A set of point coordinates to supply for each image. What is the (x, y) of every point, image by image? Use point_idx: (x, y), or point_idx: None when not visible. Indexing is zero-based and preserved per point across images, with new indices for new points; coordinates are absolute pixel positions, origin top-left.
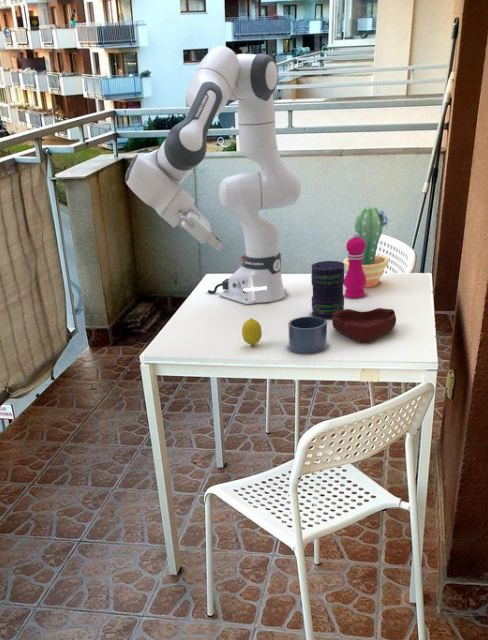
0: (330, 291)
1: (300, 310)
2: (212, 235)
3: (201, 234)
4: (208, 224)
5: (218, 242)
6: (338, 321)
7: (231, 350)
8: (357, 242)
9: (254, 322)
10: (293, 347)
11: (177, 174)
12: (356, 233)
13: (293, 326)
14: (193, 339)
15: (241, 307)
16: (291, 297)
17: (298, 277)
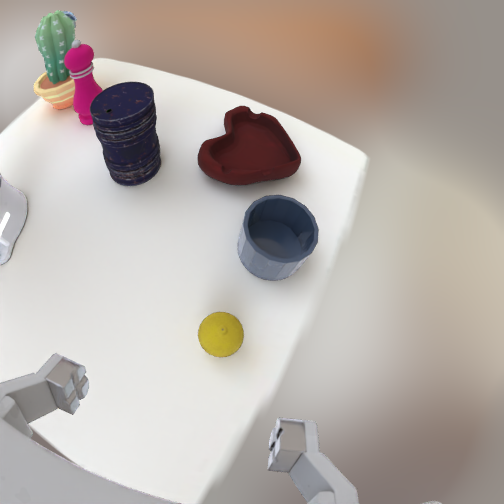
0: (153, 134)
1: (88, 192)
2: (30, 401)
3: None
4: (28, 463)
5: (318, 449)
6: (252, 174)
7: (224, 385)
8: (87, 50)
9: (234, 326)
10: (287, 276)
11: None
12: (77, 40)
13: (293, 258)
14: (124, 433)
15: (11, 275)
16: (30, 186)
17: None
